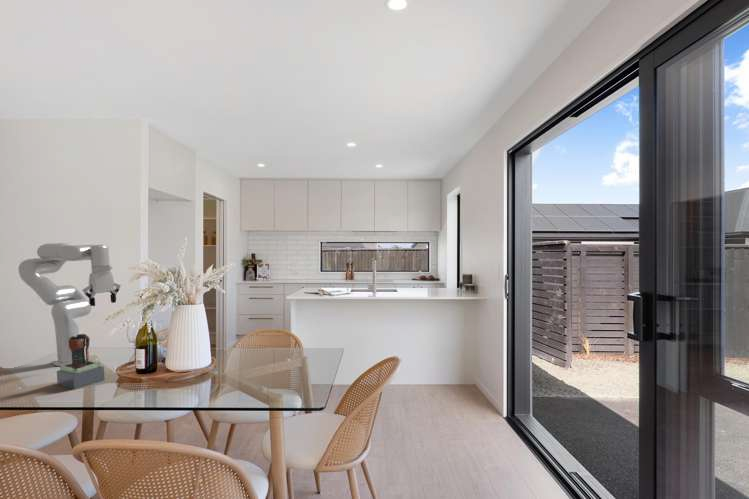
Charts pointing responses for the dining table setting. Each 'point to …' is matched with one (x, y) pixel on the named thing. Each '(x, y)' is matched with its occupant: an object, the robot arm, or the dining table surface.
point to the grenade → (79, 350)
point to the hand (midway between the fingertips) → (103, 304)
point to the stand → (80, 375)
